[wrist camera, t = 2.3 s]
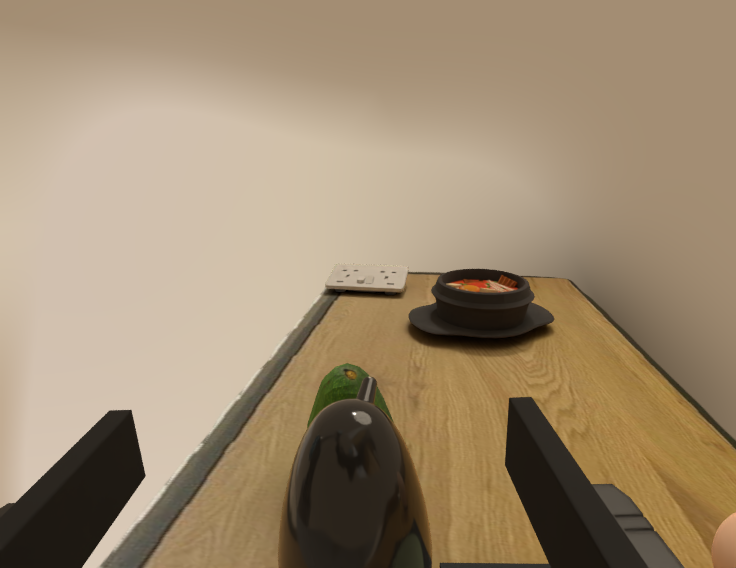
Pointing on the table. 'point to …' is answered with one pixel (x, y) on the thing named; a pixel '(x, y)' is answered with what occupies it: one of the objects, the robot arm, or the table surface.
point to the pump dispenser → (354, 493)
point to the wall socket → (367, 278)
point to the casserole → (480, 305)
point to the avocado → (343, 389)
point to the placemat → (492, 565)
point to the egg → (725, 544)
